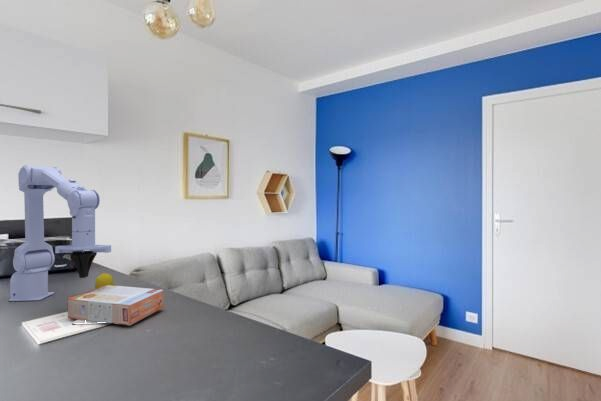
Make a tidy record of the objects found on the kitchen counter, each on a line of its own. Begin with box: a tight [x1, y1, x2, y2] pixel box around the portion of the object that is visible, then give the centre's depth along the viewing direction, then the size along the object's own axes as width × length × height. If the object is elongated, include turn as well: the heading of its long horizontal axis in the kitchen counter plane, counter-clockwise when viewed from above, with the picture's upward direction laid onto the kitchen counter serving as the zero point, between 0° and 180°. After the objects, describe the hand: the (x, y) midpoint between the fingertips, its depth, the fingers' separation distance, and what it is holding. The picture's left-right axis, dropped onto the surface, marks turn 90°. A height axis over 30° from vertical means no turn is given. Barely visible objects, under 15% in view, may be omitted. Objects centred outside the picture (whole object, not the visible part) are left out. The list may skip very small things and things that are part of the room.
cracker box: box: [67, 285, 164, 326], centre depth 97 cm, size 14×6×21 cm
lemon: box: [94, 272, 115, 289], centre depth 115 cm, size 6×6×8 cm
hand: (83, 277), depth 99 cm, fingers closed
